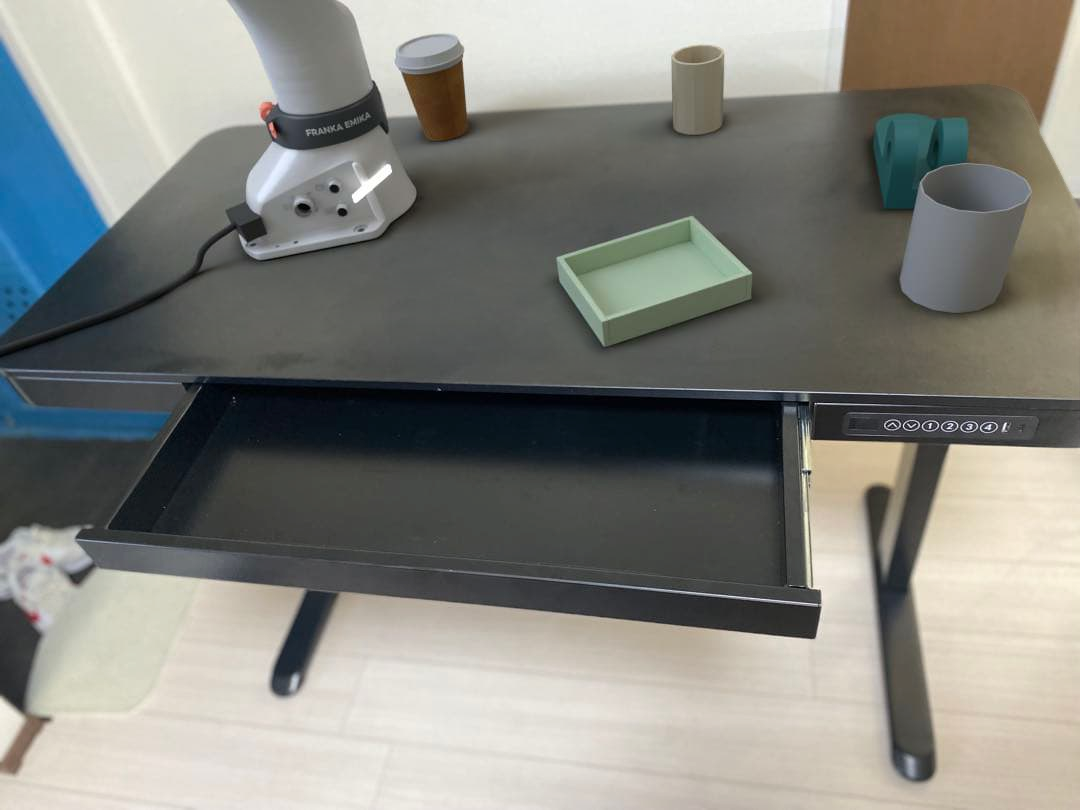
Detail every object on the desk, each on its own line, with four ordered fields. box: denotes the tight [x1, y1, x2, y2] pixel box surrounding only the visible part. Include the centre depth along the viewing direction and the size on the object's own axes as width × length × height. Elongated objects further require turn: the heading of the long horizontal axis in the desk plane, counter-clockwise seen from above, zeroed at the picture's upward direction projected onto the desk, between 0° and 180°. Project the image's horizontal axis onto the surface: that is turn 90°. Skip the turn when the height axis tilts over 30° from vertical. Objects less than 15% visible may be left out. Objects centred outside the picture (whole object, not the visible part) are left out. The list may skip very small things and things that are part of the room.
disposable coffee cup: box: [394, 33, 469, 142], centre depth 109 cm, size 10×10×12 cm
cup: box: [899, 162, 1033, 314], centre depth 70 cm, size 8×8×10 cm
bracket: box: [872, 112, 969, 210], centre depth 86 cm, size 18×7×8 cm, turn 168°
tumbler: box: [670, 44, 725, 136], centre depth 101 cm, size 6×6×9 cm
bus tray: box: [555, 215, 753, 348], centre depth 78 cm, size 15×12×3 cm
